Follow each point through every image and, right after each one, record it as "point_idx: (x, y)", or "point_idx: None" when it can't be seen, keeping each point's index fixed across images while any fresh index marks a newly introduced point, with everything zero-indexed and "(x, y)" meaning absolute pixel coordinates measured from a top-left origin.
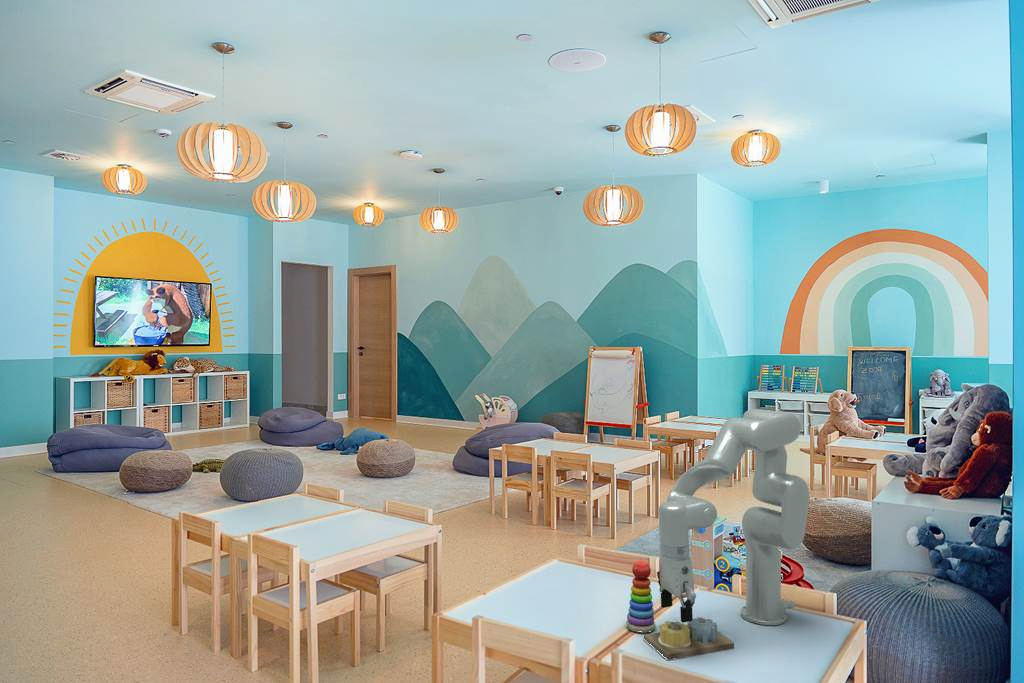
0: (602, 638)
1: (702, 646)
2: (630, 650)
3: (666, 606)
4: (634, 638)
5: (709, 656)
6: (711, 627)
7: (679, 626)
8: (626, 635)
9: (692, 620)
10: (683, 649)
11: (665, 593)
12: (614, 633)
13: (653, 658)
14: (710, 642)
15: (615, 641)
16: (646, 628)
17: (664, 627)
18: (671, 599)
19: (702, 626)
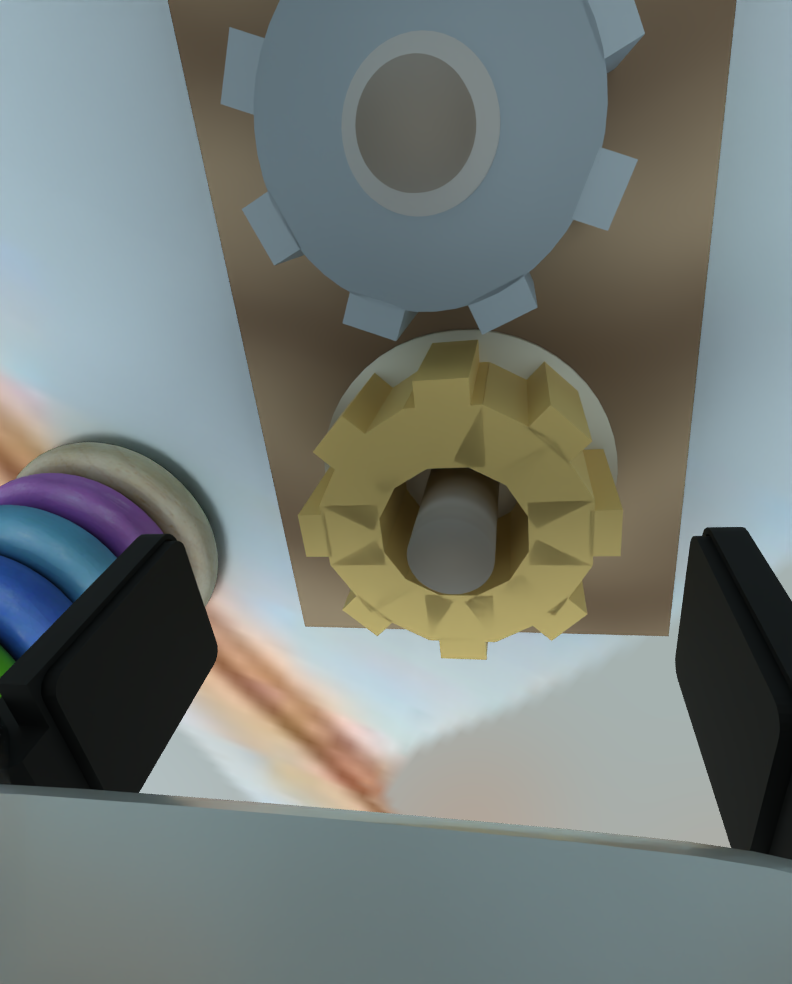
0: (254, 773)
1: (666, 270)
2: (435, 723)
3: (202, 617)
4: (278, 635)
5: (762, 235)
6: (597, 45)
7: (427, 464)
8: (230, 656)
9: (306, 229)
10: (644, 481)
11: (95, 780)
12: (197, 699)
13: (588, 664)
14: (617, 119)
15: (302, 738)
16: (203, 563)
17: (434, 624)
18: (133, 609)
19: (517, 181)
